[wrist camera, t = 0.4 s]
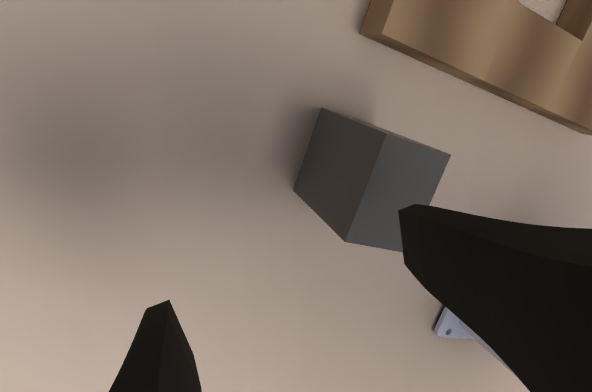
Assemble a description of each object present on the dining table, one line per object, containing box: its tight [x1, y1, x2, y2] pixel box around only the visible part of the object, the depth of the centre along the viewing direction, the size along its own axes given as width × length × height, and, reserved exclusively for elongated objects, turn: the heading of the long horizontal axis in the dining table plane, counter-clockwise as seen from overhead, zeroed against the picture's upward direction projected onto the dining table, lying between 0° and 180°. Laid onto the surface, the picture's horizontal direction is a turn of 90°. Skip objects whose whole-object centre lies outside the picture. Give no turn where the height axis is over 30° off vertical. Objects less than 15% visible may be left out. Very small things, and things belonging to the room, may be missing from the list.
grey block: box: [293, 108, 451, 252], centre depth 19 cm, size 3×4×6 cm
